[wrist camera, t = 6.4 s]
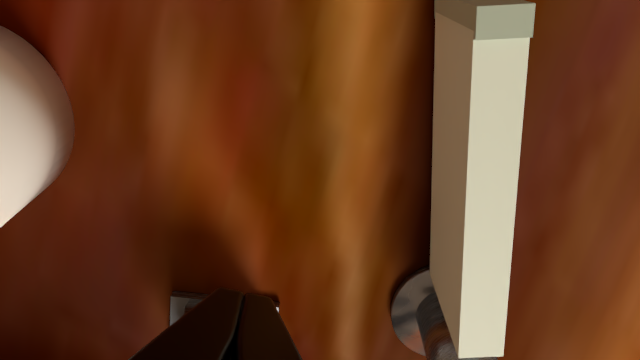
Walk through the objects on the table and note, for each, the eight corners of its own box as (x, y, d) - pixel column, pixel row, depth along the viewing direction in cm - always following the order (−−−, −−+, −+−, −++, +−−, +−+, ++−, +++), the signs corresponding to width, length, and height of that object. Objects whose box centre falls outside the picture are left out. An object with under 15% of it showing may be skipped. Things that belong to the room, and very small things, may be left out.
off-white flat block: (463, 269, 22) (505, 360, 17) (428, 271, 23) (459, 362, 18) (477, -11, 19) (535, 3, 14) (434, -8, 19) (476, 6, 14)
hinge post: (483, 356, 24) (521, 450, 20) (382, 346, 24) (397, 439, 20) (507, 268, 23) (555, 349, 18) (400, 256, 23) (421, 335, 18)
